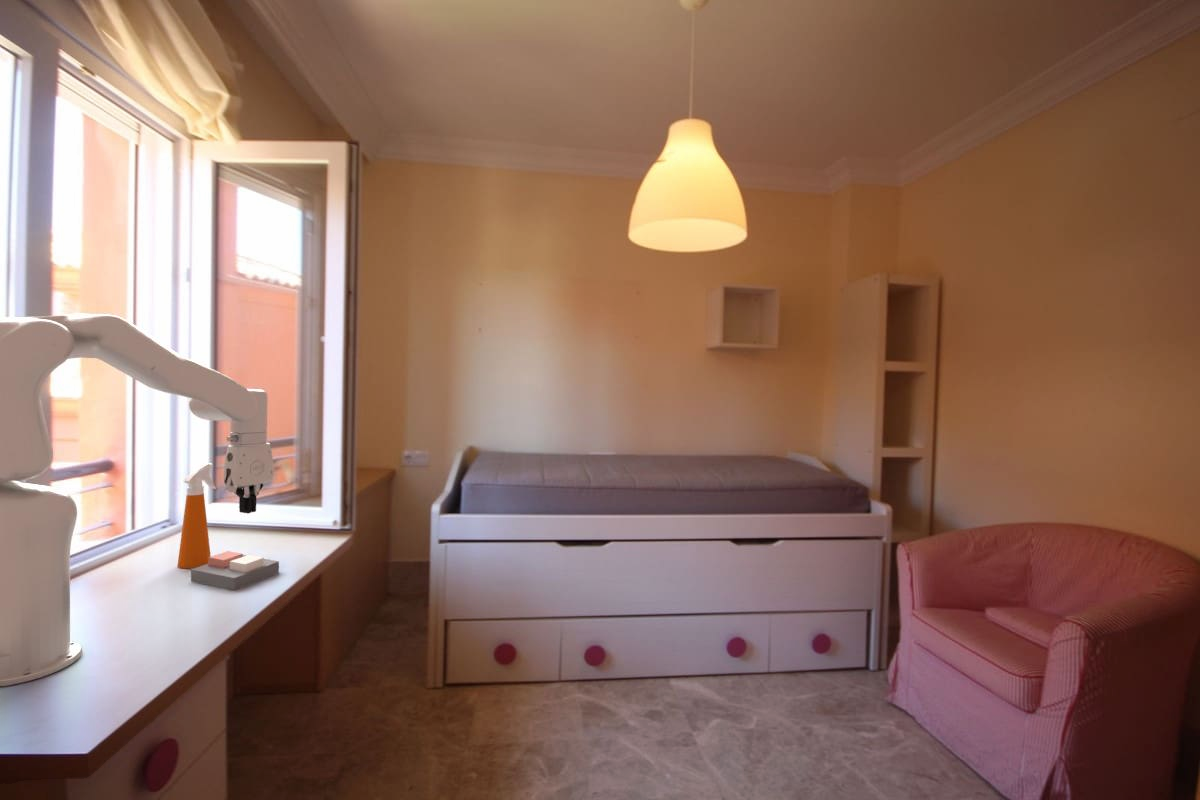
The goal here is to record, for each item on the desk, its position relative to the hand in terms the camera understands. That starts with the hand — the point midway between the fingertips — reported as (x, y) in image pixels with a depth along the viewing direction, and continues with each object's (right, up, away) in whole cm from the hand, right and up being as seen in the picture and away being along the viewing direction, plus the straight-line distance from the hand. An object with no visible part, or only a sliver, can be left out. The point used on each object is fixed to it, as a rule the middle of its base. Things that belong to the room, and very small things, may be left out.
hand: (247, 511), depth 128 cm
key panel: (-4, -17, +2) cm, 17 cm away
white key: (-1, -15, +1) cm, 14 cm away
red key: (-7, -14, +3) cm, 16 cm away
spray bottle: (-20, -16, +11) cm, 28 cm away
